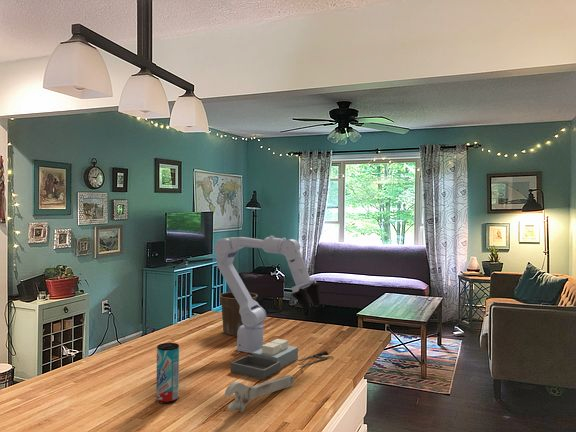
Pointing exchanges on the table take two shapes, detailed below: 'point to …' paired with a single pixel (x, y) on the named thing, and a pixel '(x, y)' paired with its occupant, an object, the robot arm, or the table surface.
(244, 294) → the robot arm
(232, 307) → the plant pot
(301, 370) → the hacksaw
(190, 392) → the table surface
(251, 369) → the box
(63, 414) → the table surface
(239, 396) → the wrench
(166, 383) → the beverage can
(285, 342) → the tile back
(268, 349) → the tile front
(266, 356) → the gray rectangular block
